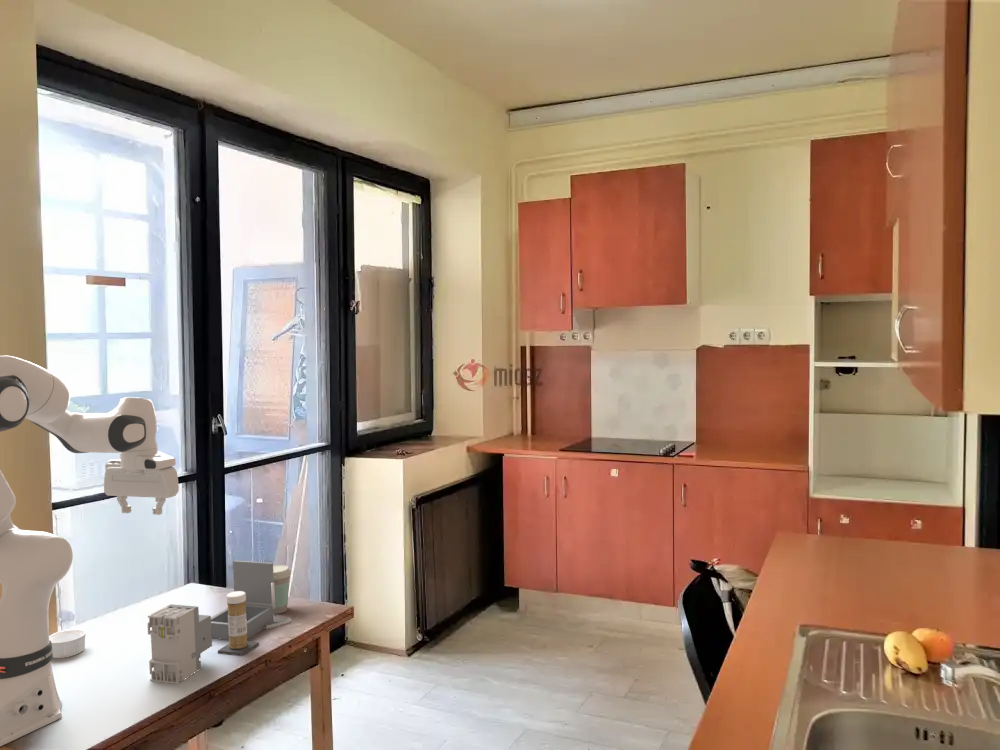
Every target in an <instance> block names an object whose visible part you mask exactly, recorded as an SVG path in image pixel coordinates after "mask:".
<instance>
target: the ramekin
mask: <svg viewBox="0 0 1000 750" xmlns="http://www.w3.org/2000/svg"><path fill="white" fill-rule="evenodd" d="M86 634H87V632H86V630H84V629H78V628H75V629H66V630H62V631H57V632H55V633H52V634H49V640H50V641H51V642H52V650H53V652H52V653H53V658H52V659H65V657H66V658H70V656H71V657H74V656H77V655H78V653H79V654H80V653H82V652H83V651H84V650H85V647H86V636H87V635H86ZM81 651H82V652H81ZM76 654H77V655H76ZM73 655H74V656H73Z"/></svg>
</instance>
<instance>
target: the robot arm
mask: <svg viewBox="0 0 1000 750" xmlns="http://www.w3.org/2000/svg"><path fill="white" fill-rule="evenodd" d="M70 401H71V390H70V387H69V385H68V384H67V383H66V382H65V380H64V379H62V378H61V377H59V376H58V375H57V374H55V373H53V372H51V371H50V370H48V369H47V368H44V367H42V366H40V365H38V364H35V363H34V362H31V361H28V360H26V359H23V358H20V357H16V356H12V355H0V432H5V431H8V430H12V429H14V428H17V427H18V426H19V425H21V424H22V422H23V421H24V420H28V421H29V422H31V423H32V424H34V425H35V426H37V427H39V428H41V429H42V430H45V431H46V432H48V433H49V434H51V435H53V436H54V437H56V439H57V440H58V441H59V442H60V443H61V444H62V446H63V447H64V448H65V449H66V450H67V451H69V452H70V453H73V454H86V453H87V454H88V453H98V454H99V453H100V454H102V453H103V454H107V453H109V454H110V453H111V454H114V453H115V454H118V453H119V459H115V458H114V459H109V460H108V461H107V462H106V464H105V465H104V469H105V471H104V478H103V492H104V493H105V495H106V496H110V497H111V496H113V497H116V500H117V503H118V505H119V506H120V507H121V513H122V514H129V513H132V505H129V503H128V501H127V499H128V497H129V498H130V497H132V498H133V497H134V498H135V497H136V498H137V497H138V498H139V497H140V498H154V499H155V502H156V505H155V507H153V508H152V515H154V516H160V515H162V514H163V506H164V505H165V503H166V501H167V500H166V499H170V498H173V497H176V496H177V494H178V493H179V491H180V490H179V477H178V472H177V469H176V468H175V467H174V466H176V463H177V461H176V458H175V457H173V456H172V455H168V454H166V453H164V452H161V451H160V450H159V448H158V443H157V440H156V436H157V435H156V434H157V431H158V430H157V429H158V427H157V425H158V424H157V415H156V410H155V406H154V403H153V401H152V400H151V399H149V398H146V397H138V396H137V397H136V396H126V397H122V398H120V401H119V404H118V405H117V406H116V407H115V408H114V409H113V410H111V411H109V412H107V413H106V412H105V413H103V412H102V413H101V412H100V413H99V412H98V413H97V412H95V413H94V412H91V413H89V412H81V411H79V412H76V411H75V412H70V411H69V410H67V409H68V408H69V405H70ZM16 504H17V498H16V495H15V494H14V492H13V490H12V488H11V485H10V484H9V483H8V480H7V479H6V477H5V476H4V474H3V472H2V470H1V469H0V584H1V587H2V589H1V596H0V747H2V746H4V745H6V744H9V743H11V742H12V741H15V740H17V739H19V738H22V737H23V736H26V735H28V734H30V733H32V732H34V731H36V730H38V729H40V728H42V727H45V726H47V725H49V724H50V723H53V722H55V721H57V720H59V719H61V717H62V711H61V708H62V706H63V705H62V704H63V703H62V700H61V699H60V696H59V694H58V691H57V687H56V683H55V677H54V672H53V667H52V660H53V659H54V658H53V653H52V652H53V650H52V642H51V641H50V640H49V636H50V631H49V630H50V629H49V627H50V626H49V610H50V609H49V606H50V601H51V597H52V595H53V592H54V589H55V587H56V585H57V584H58V583H59V581H61V580H63V578H65V577H66V575H67V573H69V570H70V568H71V566H72V564H73V557H74V555H73V547H72V546H71V545H70V542H68V541H67V539H65V538H64V537H61V536H58V535H56V534H54V533H50V532H47V531H42V530H41V531H39V530H32V529H29V530H28V529H20V528H19V527H18V526H16V525H15V524H14V523H13V520H12V517H11V514H12V513H13V510H14V509H15V507H16Z"/></svg>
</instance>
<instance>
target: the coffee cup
mask: <svg viewBox="0 0 1000 750" xmlns="http://www.w3.org/2000/svg"><path fill="white" fill-rule="evenodd" d="M273 575H274V590H275V609H273V615H278V614H282V613H284V612H286V611H287V610H288V603H289V602H288V601H289V588H290V578H291V575H292V573H291V570H290V568H289V566H288V565H285V564H275V565H274V564H273Z"/></svg>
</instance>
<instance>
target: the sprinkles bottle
mask: <svg viewBox="0 0 1000 750" xmlns="http://www.w3.org/2000/svg"><path fill="white" fill-rule="evenodd" d="M245 602H246V593H245V592H243V591H235V592H234V591H231V592H229V593H228V594H226V604H227V608H228V629H229V640H228V641H229V642H228V644H229V647H230V648H231V649H241V648H244V647H246V646H247V645H248V642H247V641H248V639H247V621H246V604H245Z"/></svg>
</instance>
